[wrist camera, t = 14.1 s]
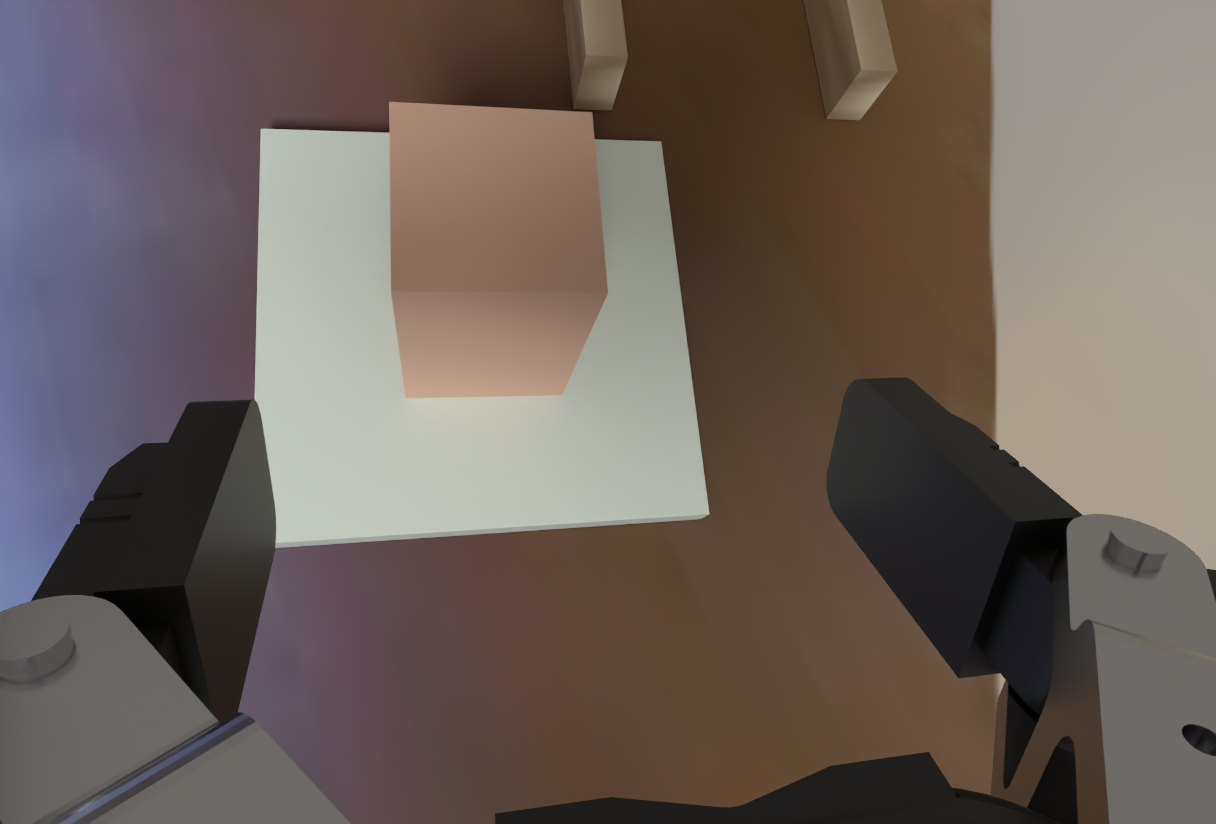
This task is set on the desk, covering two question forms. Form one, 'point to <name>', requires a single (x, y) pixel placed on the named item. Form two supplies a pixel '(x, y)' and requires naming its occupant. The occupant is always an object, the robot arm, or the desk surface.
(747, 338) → the desk surface
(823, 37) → the maple bay
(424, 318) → the terracotta block
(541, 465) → the sage mat
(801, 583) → the desk surface
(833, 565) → the desk surface
